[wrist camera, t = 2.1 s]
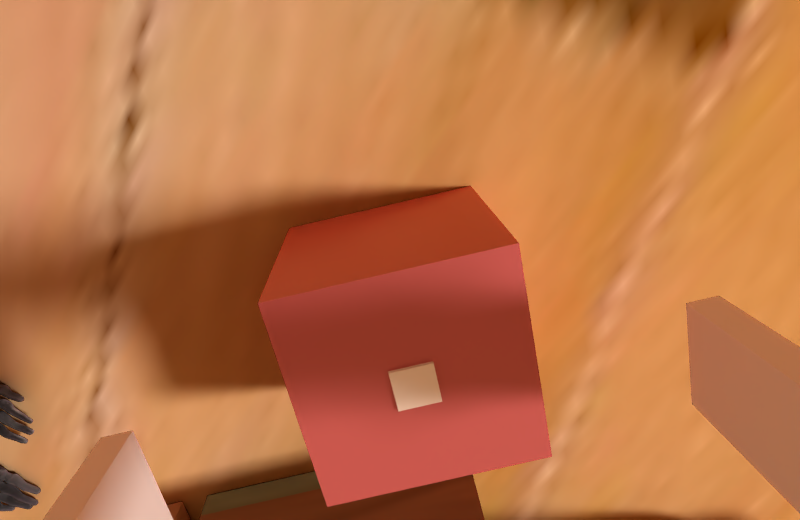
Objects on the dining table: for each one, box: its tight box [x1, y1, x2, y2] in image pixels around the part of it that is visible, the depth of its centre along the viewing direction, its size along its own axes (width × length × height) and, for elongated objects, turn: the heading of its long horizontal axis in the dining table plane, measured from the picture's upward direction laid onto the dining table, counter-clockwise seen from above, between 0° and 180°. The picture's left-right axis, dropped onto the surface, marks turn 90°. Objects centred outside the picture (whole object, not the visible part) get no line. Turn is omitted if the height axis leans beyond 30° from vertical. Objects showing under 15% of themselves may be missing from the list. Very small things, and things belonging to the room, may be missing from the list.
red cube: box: [258, 186, 552, 507], centre depth 16 cm, size 6×6×6 cm
